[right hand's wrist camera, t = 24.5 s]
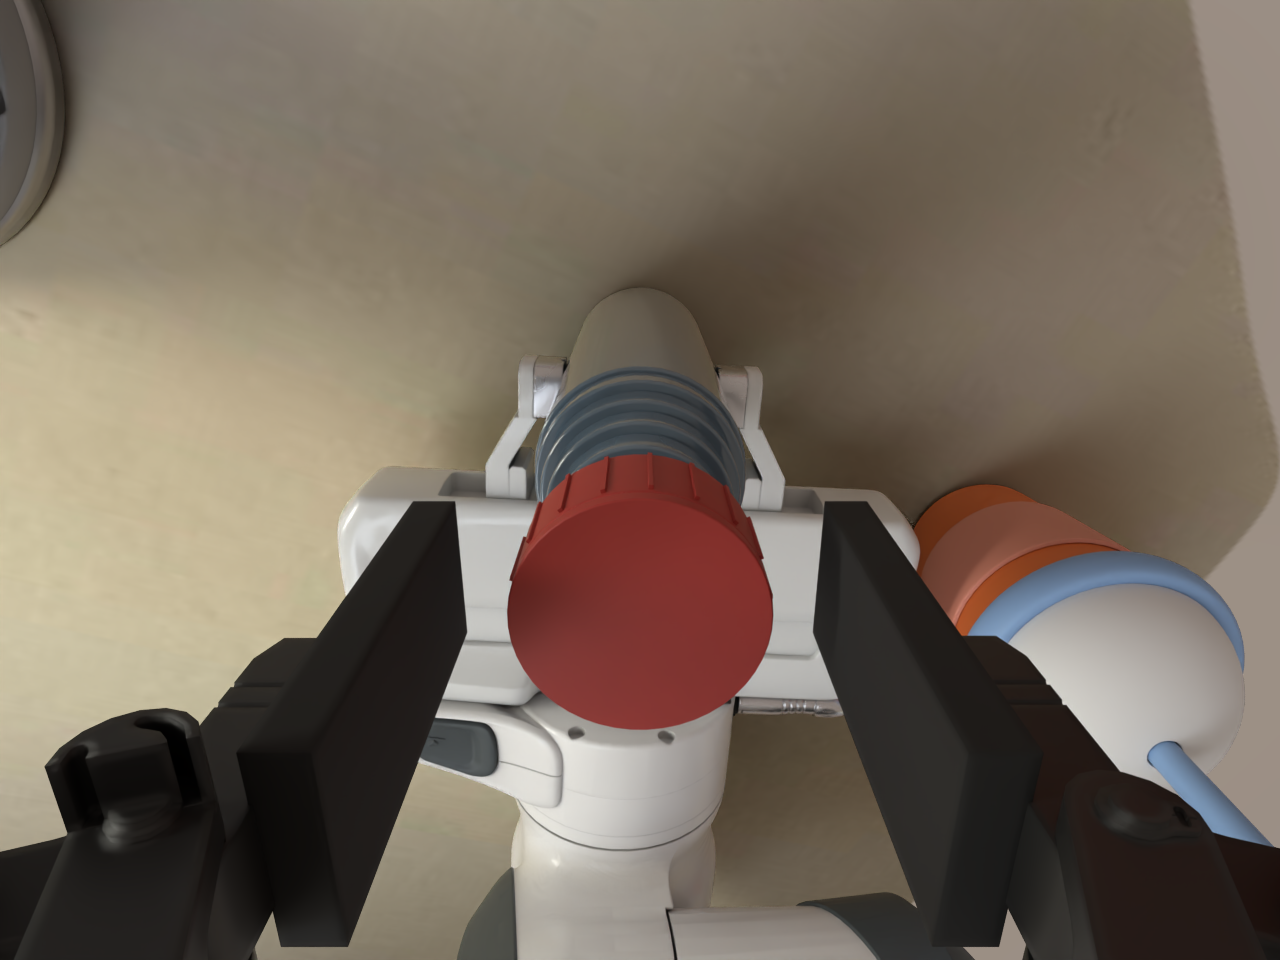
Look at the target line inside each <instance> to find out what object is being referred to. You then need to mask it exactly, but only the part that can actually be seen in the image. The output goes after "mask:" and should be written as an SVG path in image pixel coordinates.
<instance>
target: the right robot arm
mask: <svg viewBox="0 0 1280 960" xmlns="http://www.w3.org/2000/svg"><path fill="white" fill-rule="evenodd" d="M64 121H65V102H64V86H63V79H62V72H61V65H60V61H59V56H58V52H57V47H56V43H55V40H54V37H53V33H52V30H51V27H50V24H49V21H48V18H47V15H46V13H45V10H44V8H43V5H42V3H41V0H0V245H2V244H4V243H5V242H7V241H8V240H9V239H10V238H11V237H13V236H14V235H15V234H16V233H17V232H19V231H20V229H21V228H22V227H23V226H24V225H25V224H26V223H27V222H28V221H29V220H30V219H31V217H32V216H33V214H34V213H35V212H36V210H37V209H38V207H39V206H40V205H41V203H42V201H43V199H44V197H45V195H46V194H47V192H48V190H49V188H50V185H51V183H52V180H53V177H54V175H55V172H56V169H57V165H58V162H59V158H60V154H61V148H62V142H63V135H64ZM466 635H467V622H466V611H465V601H464V590H463V579H462V568H461V557H460V547H459V536H458V525H457V514H456V503H455V501H413V502H412V503H411V505H410V506H409V508H408V509H407V510H406V512H405V513H404V515H403V516H402V517H401V519H400V520H399V522H398V523H397V525H396V526H395V527H394V529H393V530H392V532H391V533H390V535H389V536H388V537H387V539H386V540H385V542H384V543H383V545H382V546H381V547H380V549H379V550H378V552H377V553H376V554H375V556H374V557H373V559H372V560H371V562H370V563H369V564H368V566H367V567H366V569H365V570H364V572H363V573H362V574H361V576H360V577H359V579H358V580H357V581H356V583H355V584H354V586H353V587H352V589H351V590H350V591H349V593H348V594H347V596H346V597H345V599H344V600H343V601H342V603H341V604H340V606H339V607H338V608H337V610H336V611H335V613H334V614H333V616H332V617H331V618H330V620H329V621H328V623H327V624H326V626H325V627H324V628H323V630H322V631H321V633H320V634H319V635H318V637H317V638H284V639H282V640H281V641H279V642H278V643H276V644H275V645H273V646H272V647H270V648H269V649H267V650H266V651H264V652H263V653H261V654H260V655H258V656H257V657H255V658H254V659H253V660H252V661H251V663H250V664H249V665H248V666H247V668H246V669H245V670H244V671H243V673H242V674H241V675H240V676H239V677H238V679H237V680H236V681H235V682H234V683H235V685H234V687H230V689H229V690H228V691H227V692H226V694H225V695H224V696H223V697H222V699H221V700H220V701H219V702H218V703H219V705H218V708H214V709H213V710H212V711H211V712H210V714H209V715H208V716H207V717H206V718H205V720H204V721H203V722H202V723H201V725H200V726H199V722H198V721H197V720H196V719H195V718H193V717H192V716H191V715H190V714H188V713H187V712H184V711H179V710H173V709H168V708H161V709H149V710H139V711H136V712H132V713H128V714H125V715H121V716H118V717H114V718H111V719H109V720H106V721H104V722H102V723H100V724H98V725H96V726H94V727H91V728H89V729H87V730H85V731H83V732H81V733H80V734H79V735H77V736H76V737H74V738H73V739H72V740H70V741H69V742H67V743H66V744H65V745H63V746H62V747H60V748H59V749H58V751H57V752H56V753H55V754H54V756H53V757H52V758H51V759H50V761H49V762H48V763H47V764H46V765H45V769H46V772H47V775H48V778H49V781H50V784H51V787H52V789H53V792H54V795H55V798H56V801H57V804H58V807H59V810H60V813H61V816H62V818H63V821H64V824H65V827H66V830H67V836H64V837H61V838H58V839H54V840H50V841H46V842H41V843H37V844H32V845H28V846H24V847H19V848H15V849H11V850H6V851H2V852H0V960H258V959H257V955H256V951H255V945H256V943H257V941H258V939H259V937H260V935H261V933H262V931H263V929H264V927H265V925H266V923H267V921H268V919H269V917H270V915H271V913H272V911H273V914H274V919H275V923H276V927H277V932H278V936H279V940H280V945H281V947H348V945H349V943H350V940H351V937H352V935H353V932H354V929H355V927H356V924H357V921H358V919H359V916H360V914H361V911H362V908H363V906H364V903H365V900H366V898H367V895H368V893H369V890H370V887H371V885H372V882H373V879H374V877H375V874H376V872H377V869H378V866H379V864H380V861H381V858H382V856H383V853H384V850H385V848H386V845H387V843H388V840H389V837H390V835H391V832H392V829H393V827H394V824H395V822H396V819H397V816H398V814H399V811H400V808H401V806H402V803H403V800H404V798H405V795H406V793H407V790H408V787H409V785H410V782H411V779H412V777H413V774H414V772H415V769H416V766H417V764H418V761H419V758H420V756H421V753H422V751H423V748H424V745H425V743H426V740H427V737H428V735H429V732H430V729H431V727H432V724H433V722H434V719H435V716H436V714H437V711H438V708H439V706H440V703H441V701H442V698H443V695H444V693H445V690H446V687H447V685H448V682H449V679H450V677H451V674H452V672H453V669H454V666H455V664H456V661H457V658H458V656H459V653H460V651H461V648H462V645H463V643H464V640H465V637H466ZM813 635H814V637H815V640H816V643H817V645H818V648H819V651H820V653H821V656H822V658H823V661H824V664H825V666H826V669H827V672H828V674H829V677H830V679H831V682H832V685H833V687H834V690H835V693H836V695H837V698H838V701H839V703H840V706H841V708H842V711H843V714H844V716H845V719H846V722H847V724H848V727H849V729H850V732H851V735H852V737H853V740H854V743H855V745H856V748H857V751H858V753H859V756H860V758H861V761H862V764H863V766H864V769H865V772H866V774H867V777H868V779H869V782H870V785H871V787H872V790H873V793H874V795H875V798H876V800H877V803H878V806H879V808H880V811H881V814H882V816H883V819H884V822H885V824H886V827H887V829H888V832H889V835H890V837H891V840H892V843H893V845H894V848H895V850H896V853H897V856H898V858H899V861H900V864H901V866H902V869H903V872H904V874H905V877H906V879H907V882H908V885H909V887H910V890H911V893H912V895H913V898H914V900H915V903H916V906H917V908H918V911H919V914H920V916H921V919H922V921H923V924H924V927H925V929H926V932H927V935H928V937H929V940H930V943H931V945H932V947H999V944H1000V940H1001V936H1002V932H1003V927H1004V923H1005V919H1006V914H1007V910H1008V909H1009V911H1010V913H1011V915H1012V917H1013V919H1014V921H1015V923H1016V925H1017V927H1018V929H1019V931H1020V933H1021V935H1022V937H1023V939H1024V941H1025V943H1026V948H1025V951H1024V955H1023V960H1280V848H1276V847H1271V846H1267V845H1263V844H1258V843H1254V842H1249V841H1245V840H1241V839H1236V838H1232V837H1227V836H1224V835H1221V834H1217V833H1214V832H1212V831H1211V829H1210V828H1209V826H1208V825H1207V823H1206V822H1205V821H1204V819H1203V818H1202V816H1201V815H1200V813H1199V812H1198V811H1196V810H1195V809H1194V808H1193V807H1191V806H1190V805H1189V804H1188V803H1187V802H1185V801H1184V800H1183V799H1182V798H1180V797H1179V796H1178V795H1177V794H1175V793H1173V792H1171V791H1169V790H1167V789H1165V788H1163V787H1161V786H1160V785H1158V784H1156V783H1154V782H1152V781H1150V780H1147V779H1144V778H1140V777H1137V776H1134V775H1131V774H1128V773H1124V772H1120V770H1119V769H1118V768H1117V767H1116V766H1115V764H1114V763H1113V762H1112V761H1111V759H1110V758H1109V757H1108V756H1107V754H1106V753H1105V752H1104V751H1103V749H1102V748H1101V747H1100V746H1099V745H1098V743H1097V742H1096V741H1095V740H1094V738H1093V737H1092V736H1091V735H1090V733H1089V732H1088V731H1087V730H1086V728H1085V727H1084V726H1083V725H1082V724H1081V722H1080V721H1079V720H1078V719H1077V717H1076V716H1075V715H1074V714H1073V712H1072V711H1071V710H1070V709H1069V707H1068V706H1067V705H1063V704H1062V699H1061V698H1060V696H1059V695H1058V694H1057V693H1056V691H1055V690H1054V689H1053V688H1052V687H1051V685H1047V684H1046V679H1045V678H1044V677H1043V675H1042V674H1041V673H1040V672H1039V670H1038V669H1037V668H1036V667H1035V666H1034V664H1033V663H1032V662H1031V661H1030V659H1029V658H1028V657H1027V656H1026V655H1025V654H1023V653H1021V652H1020V651H1018V650H1017V649H1015V648H1014V647H1012V646H1011V645H1009V644H1008V643H1006V642H1005V641H1003V640H1002V639H1000V638H999V637H997V636H962V635H961V634H960V633H959V631H958V630H957V628H956V627H955V626H954V624H953V623H952V621H951V620H950V618H949V617H948V616H947V614H946V613H945V611H944V610H943V608H942V607H941V606H940V604H939V603H938V601H937V600H936V599H935V597H934V596H933V594H932V593H931V591H930V590H929V589H928V587H927V586H926V584H925V583H924V581H923V580H922V579H921V577H920V576H919V574H918V573H917V572H916V570H915V569H914V567H913V566H912V564H911V563H910V562H909V560H908V559H907V557H906V556H905V554H904V553H903V552H902V550H901V549H900V547H899V546H898V545H897V543H896V542H895V540H894V539H893V537H892V536H891V535H890V533H889V532H888V530H887V529H886V527H885V526H884V525H883V523H882V522H881V520H880V519H879V517H878V516H877V515H876V513H875V512H874V510H873V509H872V508H871V506H870V505H869V503H868V502H867V501H825V503H824V514H823V525H822V536H821V547H820V557H819V568H818V579H817V590H816V601H815V611H814V622H813Z"/></svg>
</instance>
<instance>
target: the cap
mask: <svg viewBox="0 0 1280 960" xmlns="http://www.w3.org/2000/svg"><path fill="white" fill-rule="evenodd" d="M762 559H764V556H763V553H762V550H761V547H760V544H759V541H758V538H757V535H756V532H755V529H754V526H753V523H752V520H751V518H750V516H749V517H746V515H745V513H744V511H743V510H742V508H741V506H740V504H739V503H738V502H737V501H736V499H735V498H734V497H733V495H732V494H731V493H730V490H729V487H728V486H727V485H725V486H723V485H722V484H721V483H720V482H718V481H717V480H716V479H714V478H713V477H712V476H710V475H709V474H707V473H706V472H704V471H702V470H700V469H699V468H697V467H695V465H694V463H691V462H690V463H689V464H688V463H685V462H683V461H680V460H676V459H672V458H668V457H664V456H657V455H652V453H649V452H648V454H647V455H645V454H633V455H624V456H616V457H612V458H609V456H607V457H604V460H601V461H598V462H595V463H593V464H590V465H588V466H586V467H584V468H582V469H580V470H578V471H576V472H575V473H573V474H572V475H570V473H569V474H567V475H566V476H565V480H563V481H562V482H561V483H560V484H559V485H558V486H557V487H555V488H554V489H553V490H552V491H551V492H550V494H549V495H548V496H547V497H546V498H545V500H544V501H543V502H540V501H539V503H538V504H537V507H536V510H535V514H534V517H533V520H532V522H531V525H530V527H529V530H528V533H527V536H526V537H524V536H523V539H522V542H521V545H520V548H519V551H518V554H517V557H516V560H515V563H514V566H513V569H512V572H511V575H510V579H509V581H512V584H511V588H510V592H509V596H508V606H507V621H508V630H509V635H510V640H511V643H512V646H513V649H514V651H515V654H516V657H517V658H518V660H519V662H520V664H521V666H522V668H523V670H524V671H525V672H526V674H527V675H528V677H529V678H530V679H531V681H532V682H533V683H534V684H535V685H536V686H537V687H538V688H539V690H540V691H541V692H542V693H543V694H545V695H546V696H547V697H548V698H549V699H551V700H552V701H553V702H554V703H556V704H557V705H559V706H560V707H562V708H563V709H565V710H567V711H568V712H570V713H572V714H574V715H576V716H578V717H580V718H583V719H585V720H588V721H591V722H594V723H597V724H600V725H604V726H609V727H613V728H621V729H629V730H650V729H661V728H667V727H672V726H676V725H680V724H683V723H687V722H690V721H693V720H695V719H698V718H700V717H702V716H704V715H706V714H709V713H710V712H712V711H714V710H715V709H717V708H719V707H720V706H722V705H723V704H725V703H726V702H727V701H729V700H730V699H731V698H732V697H734V696H735V695H736V694H737V693H738V692H739V691H740V690H741V689H742V688H743V687H744V686H745V685H746V684H747V682H748V681H749V680H750V679H751V677H752V676H753V675H754V673H755V672H756V670H757V668H758V667H759V665H760V663H761V661H762V660H763V658H764V655H765V652H766V650H767V647H768V645H769V641H770V637H771V633H772V626H773V593H772V590H771V587H770V584H769V581H768V577H767V574H766V571H765V568H764V565H763V562H762Z"/></svg>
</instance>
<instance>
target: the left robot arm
mask: <svg viewBox="0 0 1280 960" xmlns="http://www.w3.org/2000/svg"><path fill="white" fill-rule="evenodd" d="M566 366H567V357H554V356H540V355H539V356H538V355H524V356H523V357H522V359H521V360H520V364H519V372H518V410H517V411H516V413H515V415H514V416H513V418H512V420H511V421H510V423H509V425H508V426H507V428H506V430H505V431H504V433H503V435H502V436H501V438H500V439H499V441H498V443H497V444H496V446H495V448H494V450H493V452H492V454H491V455H490V457H489V459H488V461H487V463H486V471H476V470H456V469H436V468H416V467H397V466H389V467H384V468H382V469H380V470H378V471H377V472H376V473H375V474H373V475H372V476H371V477H370V478H369V479H368V480H367V481H366V482H365V483H364V484H363V485H362V486H361V487H360V488H359V489H358V490H357V491H356V492H355V493H354V495H353V496H352V497H351V498H350V500H349V501H348V502H347V504H346V505H345V507H344V509H343V510H342V512H341V515H340V518H339V521H338V528H337V535H338V550H339V558H340V566H341V573H342V579H343V585H344V590H345V596H347V594H348V593H349V591H350V590H351V589H352V587H353V586H354V584H355V583H356V581H357V580H358V579H359V577H360V576H361V574H362V573H363V572H364V570H365V569H366V567H367V566H368V564H369V563H370V562H371V560H372V559H373V557H374V556H375V554H376V553H377V552H378V550H379V549H380V547H381V546H382V545H383V543H384V542H385V540H386V539H387V537H388V536H389V535H390V533H391V532H392V530H393V529H394V527H395V526H396V525H397V523H398V522H399V520H400V519H401V517H402V516H403V515H404V513H405V512H406V510H407V509H408V508H409V506H410V505H411V503H412V502H413V501H455V503H456V514H457V525H458V536H459V547H460V557H461V568H462V579H463V590H464V601H465V611H466V622H467V635H466V637H465V640H464V643H463V645H462V648H461V651H460V653H459V656H458V658H457V661H456V664H455V666H454V669H453V672H452V674H451V677H450V679H449V682H448V685H447V687H446V690H445V693H444V695H443V698H442V701H441V703H440V706H439V708H438V711H437V714H436V716H435V719H434V722H433V724H432V727H431V729H430V732H429V735H428V737H427V740H426V743H425V745H424V748H423V751H422V753H421V756H420V758H419V761H418V763H421V764H424V765H428V766H431V767H434V768H438V769H441V770H444V771H447V772H450V773H453V774H456V775H459V776H462V777H465V778H468V779H471V780H474V781H476V782H479V783H482V784H485V785H487V786H489V787H492V788H494V789H497V790H499V791H501V792H504V793H506V794H508V795H510V796H512V797H514V798H515V799H516V802H517V805H518V808H519V811H520V814H521V815H520V818H519V821H518V823H517V826H516V830H515V833H514V837H513V842H512V853H511V868H510V869H509V870H507V871H506V872H505V873H504V874H503V875H502V876H501V877H500V879H499V880H498V881H497V882H496V883H495V885H494V886H493V887H492V889H491V890H490V892H489V893H488V895H487V896H486V897H485V899H484V900H483V902H482V903H481V905H480V906H479V908H478V909H477V911H476V912H475V914H474V915H473V917H472V918H471V920H470V921H469V923H468V925H467V927H466V930H465V932H464V935H463V939H462V942H461V945H460V949H459V952H458V956H457V960H975V959H974V958H973V957H972V956H971V955H970V954H969V953H968V952H967V951H966V950H965V949H964V948H963V947H932V945H931V943H930V940H929V937H928V935H927V932H926V929H925V927H924V924H923V921H922V919H921V916H920V914H919V911H918V909H917V908H916V907H915V906H913V905H912V904H911V903H909V902H908V901H906V900H905V899H903V898H902V897H900V896H898V895H896V894H893V893H888V892H883V893H874V894H866V895H857V896H848V897H840V898H831V899H822V900H814V901H806V902H802V903H799V904H798V905H796V906H764V907H710V903H711V897H712V890H713V883H714V875H715V867H716V847H715V840H714V836H713V832H712V828H711V824H712V822H713V820H714V819H715V816H716V814H717V812H718V810H719V808H720V805H721V802H722V798H723V794H724V789H725V781H726V773H727V764H728V755H729V747H730V738H731V730H732V717H733V716H735V714H756V715H781V714H782V715H784V714H794V713H795V714H801V713H802V714H812V716H815V717H823V718H832V717H840V716H844V714H843V711H842V708H841V706H840V703H839V701H838V698H837V695H836V693H835V690H834V687H833V685H832V682H831V679H830V677H829V674H828V672H827V669H826V666H825V664H824V661H823V658H822V656H821V653H820V651H819V648H818V645H817V643H816V640H815V637H814V635H813V622H814V611H815V601H816V590H817V579H818V568H819V557H820V547H821V536H822V525H823V514H824V503H825V501H867V502H868V503H869V505H870V506H871V508H872V509H873V510H874V512H875V513H876V515H877V516H878V517H879V519H880V520H881V522H882V523H883V525H884V526H885V527H886V529H887V530H888V532H889V533H890V535H891V536H892V537H893V539H894V540H895V542H896V543H897V545H898V546H899V547H900V549H901V550H902V552H903V553H904V554H905V556H906V557H907V559H908V560H909V562H910V563H911V564H912V566H913V567H914V569H915V570H916V571H917V567H918V563H919V558H920V545H919V541H918V538H917V536H916V534H915V532H914V531H913V529H912V527H911V526H910V524H909V523H908V521H907V519H906V518H905V517H904V515H903V514H902V513H901V512H900V511H899V509H898V508H897V507H896V506H895V505H894V504H893V503H892V502H891V501H890V500H889V499H888V497H887V496H885V495H884V494H883V493H881V492H879V491H875V490H863V489H842V488H822V487H801V486H785V478H784V475H783V473H782V471H781V469H780V467H779V465H778V463H777V460H776V458H775V456H774V454H773V452H772V450H771V447H770V445H769V443H768V441H767V439H766V437H765V435H764V432H763V430H762V428H761V426H760V424H759V418H760V409H761V400H762V391H763V375H762V372H761V371H760V369H759V368H758V367H754V366H732V365H716V366H715V371H716V373H717V376H718V378H719V381H720V383H721V386H722V388H723V391H724V393H725V396H726V399H727V401H728V404H729V406H730V409H731V411H732V414H733V416H734V419H735V422H736V424H737V427H738V428H739V430H740V432H741V434H742V436H743V438H744V440H745V443H746V445H747V447H748V449H749V451H750V453H751V455H752V457H753V459H754V462H753V460H752V459H751V458H745V459H746V471H745V473H746V481H745V492H744V497H743V502H742V505H741V508H742V510H743V511H744V513H745V515H746V517H749V516H750V518H751V520H752V523H753V526H754V529H755V532H756V535H757V538H758V541H759V544H760V547H761V550H762V553H763V556H764V559H762V562H763V565H764V568H765V571H766V574H767V577H768V581H769V584H770V587H771V590H772V593H773V626H772V633H771V637H770V641H769V645H768V647H767V650H766V652H765V655H764V658H763V660H762V661H761V663H760V665H759V667H758V668H757V670H756V672H755V673H754V675H753V676H752V677H751V679H750V680H749V681H748V682H747V684H746V685H745V686H744V687H743V688H742V689H741V690H740V691H739V692H738V693H737V694H736V695H735V696H734V697H732V698H731V699H730V700H729V701H727V702H726V703H725V704H723V705H722V706H720V707H719V708H717V709H715V710H714V711H712V712H710V713H709V714H706V715H704V716H702V717H700V718H698V719H695V720H693V721H690V722H687V723H683V724H680V725H676V726H672V727H667V728H661V729H650V730H629V729H621V728H613V727H609V726H604V725H600V724H597V723H594V722H591V721H588V720H585V719H583V718H580V717H578V716H576V715H574V714H572V713H570V712H568V711H567V710H565V709H563V708H562V707H560V706H559V705H557V704H556V703H554V702H553V701H552V700H551V699H549V698H548V697H547V696H546V695H545V694H543V693H542V692H541V691H540V690H539V688H538V687H537V686H536V685H535V684H534V683H533V682H532V681H531V679H530V678H529V677H528V675H527V674H526V672H525V671H524V670H523V668H522V666H521V664H520V662H519V660H518V658H517V657H516V654H515V651H514V649H513V646H512V643H511V640H510V635H509V630H508V621H507V606H508V596H509V592H510V588H511V584H512V581H509V579H510V575H511V572H512V569H513V566H514V563H515V560H516V557H517V554H518V551H519V548H520V545H521V542H522V539H523V536H524V537H526V536H527V533H528V530H529V527H530V525H531V522H532V520H533V517H534V514H535V510H536V507H537V504H538V501H537V496H536V490H535V473H534V450H533V449H532V448H531V447H521V448H520V446H521V445H522V443H523V441H524V440H525V438H526V436H527V435H528V433H529V432H530V430H531V428H532V427H533V425H534V423H535V422H536V420H537V418H546V417H547V415H548V412H549V410H550V407H551V404H552V402H553V399H554V397H555V394H556V392H557V389H558V387H559V384H560V381H561V379H562V376H563V374H564V371H565V369H566Z"/></svg>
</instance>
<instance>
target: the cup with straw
mask: <svg viewBox="0 0 1280 960" xmlns="http://www.w3.org/2000/svg"><path fill="white" fill-rule="evenodd" d="M913 531H914V532H915V534H916V536H917V538H918V541H919V545H920V558H919V563H918V567H917V571H916V572H917V573H918V574H919V576H920V577H921V579H922V580H923V581H924V583H925V584H926V586H927V587H928V589H929V590H930V591H931V593H932V594H933V596H934V597H935V599H936V600H937V601H938V603H939V604H940V606H941V607H942V608H943V610H944V611H945V613H946V614H947V616H948V617H949V618H950V620H951V621H952V623H953V624H954V626H955V627H956V628H957V630H958V631H959V633H960V634H961V635H962V636H997V637H999V638H1000V639H1002V640H1003V641H1005V642H1006V643H1008V644H1009V645H1011V646H1012V647H1014V648H1015V649H1017V650H1018V651H1020V652H1021V653H1023V654H1025V655H1026V656H1027V657H1028V658H1029V659H1030V661H1031V662H1032V663H1033V664H1034V666H1035V667H1036V668H1037V669H1038V670H1039V672H1040V673H1041V674H1042V675H1043V677H1044V678H1045V679H1046V684H1047V685H1051V687H1052V688H1053V689H1054V690H1055V691H1056V693H1057V694H1058V695H1059V696H1060V698H1061V699H1062V704H1063V705H1067V706H1068V707H1069V709H1070V710H1071V711H1072V712H1073V714H1074V715H1075V716H1076V717H1077V719H1078V720H1079V721H1080V722H1081V724H1082V725H1083V726H1084V727H1085V728H1086V730H1087V731H1088V732H1089V733H1090V735H1091V736H1092V737H1093V738H1094V740H1095V741H1096V742H1097V743H1098V745H1099V746H1100V747H1101V748H1102V749H1103V751H1104V752H1105V753H1106V754H1107V756H1108V757H1109V758H1110V759H1111V761H1112V762H1113V763H1114V764H1115V766H1116V767H1117V768H1118V769H1119V770H1120V772H1124V773H1128V774H1131V775H1134V776H1137V777H1140V778H1144V779H1147V780H1150V781H1152V782H1154V783H1156V784H1158V785H1160V786H1161V787H1163V788H1165V789H1167V790H1169V791H1171V792H1173V793H1175V794H1177V793H1178V794H1179V796H1180V797H1181V798H1182V799H1183V800H1184V801H1185V802H1187V803H1188V804H1189V805H1190V806H1191V807H1193V808H1194V809H1195V810H1196V811H1198V812H1199V813H1200V815H1201V816H1202V818H1203V819H1204V821H1205V822H1206V823H1207V825H1208V826H1209V828H1210V829H1211V831H1212V832H1214V833H1217V834H1221V835H1224V836H1227V837H1232V838H1236V839H1241V840H1245V841H1249V842H1254V843H1258V844H1263V845H1267V846H1271V847H1274V846H1273V845H1272V844H1271V843H1270V842H1269V841H1268V840H1267V839H1266V838H1265V837H1264V836H1263V835H1262V834H1261V833H1260V832H1259V831H1258V829H1257V828H1256V827H1255V826H1254V825H1253V824H1252V823H1251V822H1250V821H1249V820H1248V819H1247V818H1246V817H1245V816H1244V815H1243V814H1242V813H1241V812H1240V810H1239V809H1238V808H1237V807H1236V806H1235V805H1234V804H1233V803H1232V802H1231V801H1230V800H1229V799H1228V798H1227V797H1226V796H1225V795H1224V794H1223V793H1222V792H1221V790H1220V789H1219V788H1218V787H1217V786H1216V785H1215V784H1214V783H1213V782H1212V781H1211V780H1210V779H1209V778H1208V777H1207V776H1206V775H1207V774H1208V773H1209V772H1211V771H1212V770H1213V769H1214V768H1215V767H1216V766H1217V765H1218V763H1219V762H1220V761H1221V760H1222V759H1223V757H1224V756H1225V755H1226V754H1227V752H1228V750H1229V749H1230V747H1231V745H1232V744H1233V742H1234V739H1235V737H1236V735H1237V733H1238V730H1239V728H1240V725H1241V721H1242V716H1243V711H1244V704H1245V687H1244V678H1243V670H1244V646H1243V640H1242V636H1241V632H1240V629H1239V627H1238V624H1237V621H1236V619H1235V617H1234V615H1233V614H1232V612H1231V610H1230V608H1229V607H1228V605H1227V604H1226V603H1225V601H1224V600H1223V599H1222V597H1221V596H1220V595H1219V594H1218V593H1217V592H1216V591H1215V590H1214V589H1213V588H1212V587H1211V586H1210V585H1209V584H1208V583H1207V582H1206V581H1204V580H1203V579H1202V578H1201V577H1199V576H1198V575H1197V574H1195V573H1193V572H1192V571H1190V570H1188V569H1187V568H1185V567H1183V566H1181V565H1179V564H1177V563H1174V562H1172V561H1169V560H1166V559H1164V558H1161V557H1158V556H1154V555H1149V554H1145V553H1138V552H1132V551H1130V550H1128V549H1127V548H1125V547H1123V546H1121V545H1120V544H1118V543H1116V542H1114V541H1113V540H1111V539H1109V538H1108V537H1106V536H1104V535H1102V534H1101V533H1099V532H1097V531H1095V530H1094V529H1092V528H1090V527H1088V526H1087V525H1085V524H1083V523H1081V522H1080V521H1078V520H1076V519H1075V518H1073V517H1071V516H1069V515H1068V514H1066V513H1064V512H1062V511H1060V510H1058V509H1056V508H1054V507H1051V506H1048V505H1045V504H1040V503H1038V502H1036V501H1034V500H1032V499H1031V498H1029V497H1027V496H1025V495H1024V494H1022V493H1020V492H1018V491H1016V490H1014V489H1011V488H1008V487H1004V486H999V485H989V484H984V485H974V486H969V487H965V488H962V489H959V490H956V491H954V492H951V493H950V494H948V495H946V496H944V497H943V498H941V499H939V500H938V501H937V502H935V503H934V504H933V505H932V506H931V507H930V508H929V509H928V510H927V511H926V512H925V513H924V514H923V515H922V517H921V518H920V519H919V521H918V522H917V524H916V526H915V528H914V530H913Z"/></svg>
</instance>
